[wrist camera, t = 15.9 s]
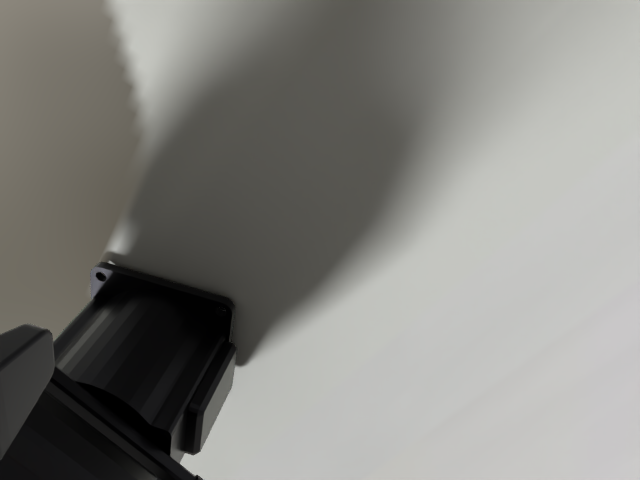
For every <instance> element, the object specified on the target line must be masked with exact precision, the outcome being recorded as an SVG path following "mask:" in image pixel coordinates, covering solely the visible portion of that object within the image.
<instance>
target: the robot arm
mask: <svg viewBox="0 0 640 480" xmlns="http://www.w3.org/2000/svg"><path fill="white" fill-rule="evenodd" d="M101 272H102V273H104V274H105V275H106V276H104V275H103V274H102V273H101ZM90 276H91V301H90V302H89V303H88V304H87V305H86V306H85V307H84V308H83V309H82V310H81V311H80V313H79V314H78V315H77V316H76V317H75V318H74V319H73V320H72V321H71V322H70V323H69V325H68V326H67V327H66V328H65V329H64V330H63V331H62V332H61V333H60V334H59V335H58V337H57V338H56V339H55V340H54V341H53V338H52V333H51V332H50V330H48V329H46V328H42V327H39V326H36V325H33V324H24V325H21V326H18V327H16V328H14V329H11V330H9V331H7V332H5V333H2V334H0V480H203V479H202V478H201V477H200V476H198V475H196V476H194V475H193V474H192V473H191V472H189V471H188V470H187V469H185V468H184V467H183V466H182V465H180V464H179V463H180V461H181V459H182V457H183V455H184V453H188V454H191V455H195V454H197V453H199V452H200V451H201V449H202V447H203V445H204V443H205V441H206V439H207V437H208V435H209V433H210V431H211V428H212V426H213V424H214V422H215V420H216V418H217V416H218V414H219V412H220V410H221V408H222V406H223V404H224V402H225V400H226V397H227V395H228V393H229V391H230V389H231V387H232V382H233V375H234V368H235V361H236V354H237V348H236V346H235V344H234V343H231V338H232V331H233V323H234V316H235V305H234V303H233V302H232V301H231V300H230V299H228V298H226V297H223V296H219V295H216V294H212V293H209V292H205V291H202V290H199V289H195V288H192V287H188V286H185V285H181V284H178V283H174V282H171V281H168V280H164V279H161V278H157V277H154V276H150V275H147V274H143V273H140V272H137V271H133V270H130V269H126V268H123V267H119V266H116V265H112V264H109V263H105V262H100V263H98V264H97V265H96V266H95V267H94V268H93V269H92V270H91V273H90ZM219 307H222V308H224V309H225V310H226V311H223V310H221V309H220V308H219Z"/></svg>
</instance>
